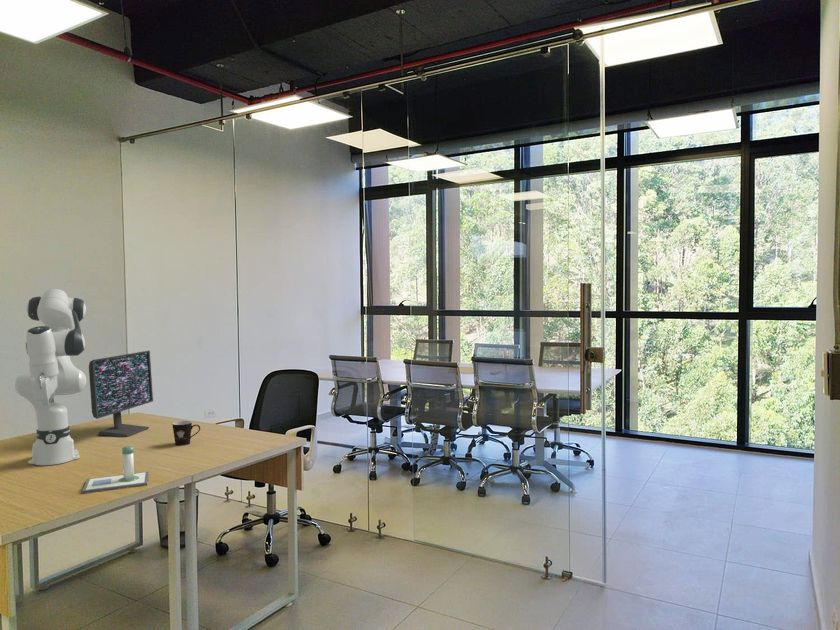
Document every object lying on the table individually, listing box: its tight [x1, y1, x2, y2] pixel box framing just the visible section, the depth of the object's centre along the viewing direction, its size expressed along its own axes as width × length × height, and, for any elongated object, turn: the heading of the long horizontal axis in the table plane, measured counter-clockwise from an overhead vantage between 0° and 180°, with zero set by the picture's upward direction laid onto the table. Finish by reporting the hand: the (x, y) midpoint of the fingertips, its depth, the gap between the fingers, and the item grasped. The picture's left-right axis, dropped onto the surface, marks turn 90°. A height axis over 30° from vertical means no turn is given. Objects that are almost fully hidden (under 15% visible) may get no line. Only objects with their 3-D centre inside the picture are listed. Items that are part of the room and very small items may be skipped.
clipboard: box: [81, 471, 149, 494], centre depth 216 cm, size 15×21×1 cm
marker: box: [121, 445, 135, 480], centre depth 217 cm, size 4×4×12 cm
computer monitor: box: [88, 350, 154, 438], centre depth 294 cm, size 44×16×40 cm, turn 171°
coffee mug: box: [172, 420, 201, 447], centre depth 271 cm, size 12×9×10 cm
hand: (49, 406), depth 215 cm, fingers open, 8 cm apart
